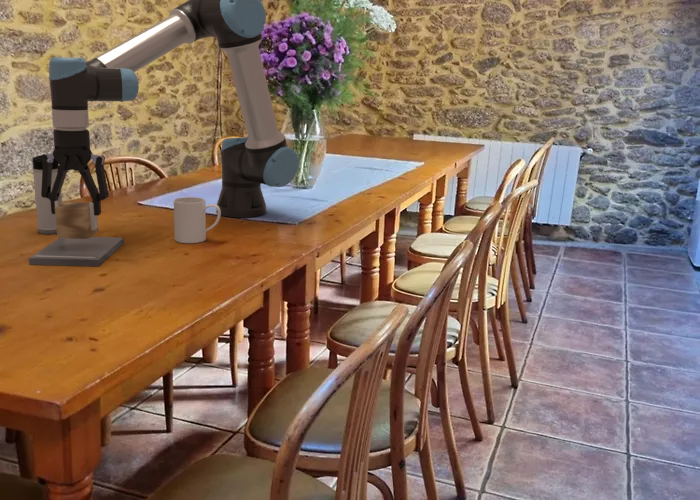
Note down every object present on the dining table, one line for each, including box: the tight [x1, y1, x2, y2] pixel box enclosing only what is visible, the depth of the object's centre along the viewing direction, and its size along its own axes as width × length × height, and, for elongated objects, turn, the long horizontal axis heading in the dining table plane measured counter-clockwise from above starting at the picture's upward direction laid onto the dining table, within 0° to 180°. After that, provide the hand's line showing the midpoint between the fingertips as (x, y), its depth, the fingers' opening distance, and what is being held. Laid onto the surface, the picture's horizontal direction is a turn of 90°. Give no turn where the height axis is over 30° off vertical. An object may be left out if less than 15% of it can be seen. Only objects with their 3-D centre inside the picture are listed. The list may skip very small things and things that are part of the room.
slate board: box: [28, 236, 125, 267], centre depth 160 cm, size 15×20×2 cm
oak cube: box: [55, 201, 99, 239], centre depth 159 cm, size 7×7×7 cm
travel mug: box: [31, 155, 63, 235], centre depth 177 cm, size 6×7×20 cm
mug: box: [173, 196, 222, 244], centre depth 175 cm, size 12×8×10 cm, turn 79°
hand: (77, 228), depth 159 cm, fingers closed on oak cube, 7 cm apart
